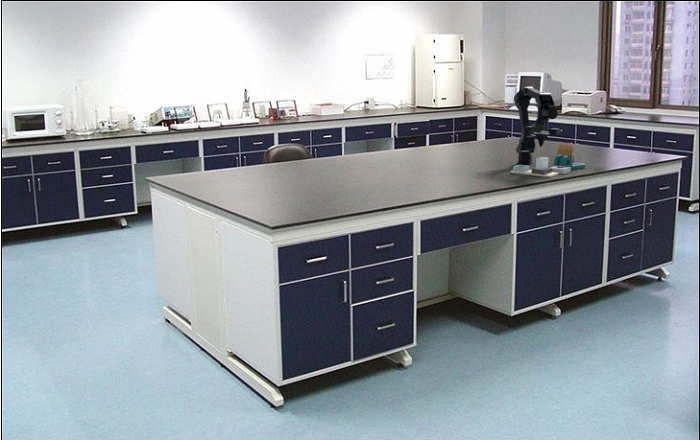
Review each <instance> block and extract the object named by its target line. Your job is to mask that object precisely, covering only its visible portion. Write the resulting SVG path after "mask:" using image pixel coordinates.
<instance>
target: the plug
mask: <svg viewBox="0 0 700 440" xmlns="http://www.w3.org/2000/svg"><path fill="white" fill-rule="evenodd" d="M549 159H550V157H547V156H546V157H544V156H540V157H537V158H536V159H535V168H536V169H538V170H546V169H548V168H549Z"/></svg>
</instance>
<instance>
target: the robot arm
mask: <svg viewBox="0 0 700 440" xmlns="http://www.w3.org/2000/svg"><path fill="white" fill-rule="evenodd" d="M532 99H534V100H535V102H536V104H537V105H536V109H537V114H536V115H537V117H536V119H535V123H533V124H532V125H530V117H529V107H530V105H531V100H532ZM513 101H514V105H515V108H517V110H518V114H519V115H518V117H519V123H520V138H519V141H518V145H517V146H516V148H515V151H516V153H517V154H518V160H517V162H516V164H517V165H525V166H529V165H531V164H533V162H532V161H533V155H532V154H533V153H535V149H536V141H535V137H536V138H537V142H538V145H539V147H540V148H541V147H543V146H544V144H545V141H546V140H547V138H548V137H549V136H550V135H552V136H558V135H561V132H562V130H561V129H560V128H557V127H553V128H550V126H549V121H550V120H554V119H556V118H557V117H558V115H559V113H558V110H557V109H556V108H555V101H554V99H553V96H552V94H551V92H544V91H543V92H542V91H540V90H538V89H536V88H534V87H533V86H524V87H522V89H520V90H519V91H517V92H516V93H515V95H514V96H513ZM531 132H532V133H533V135H532V134H531Z"/></svg>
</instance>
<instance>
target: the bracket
mask: <svg viewBox="0 0 700 440" xmlns="http://www.w3.org/2000/svg"><path fill="white" fill-rule="evenodd" d="M566 161H567V163H566ZM554 166H564V167H571V171H574V170H575V171H576V170H582V169H583V170H584V169H586V163H584V162H574V163H573V160H572V158H571V157H570V156H564V155H560V154H559V155H557V154H556V156H555V157H554V159H553V167H554Z"/></svg>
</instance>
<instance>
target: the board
mask: <svg viewBox="0 0 700 440" xmlns="http://www.w3.org/2000/svg"><path fill="white" fill-rule="evenodd" d="M510 173H511V174H512V173H513V174H518V175H519V174H521V175H529V176H536V177H545V178H552V177H555V176H557V175H558V176H559V173H556V172H551V173H548V174H545V175H542V174H533V173H532V169H530V170H528V171H525V172H519V171H513V170H510Z"/></svg>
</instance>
